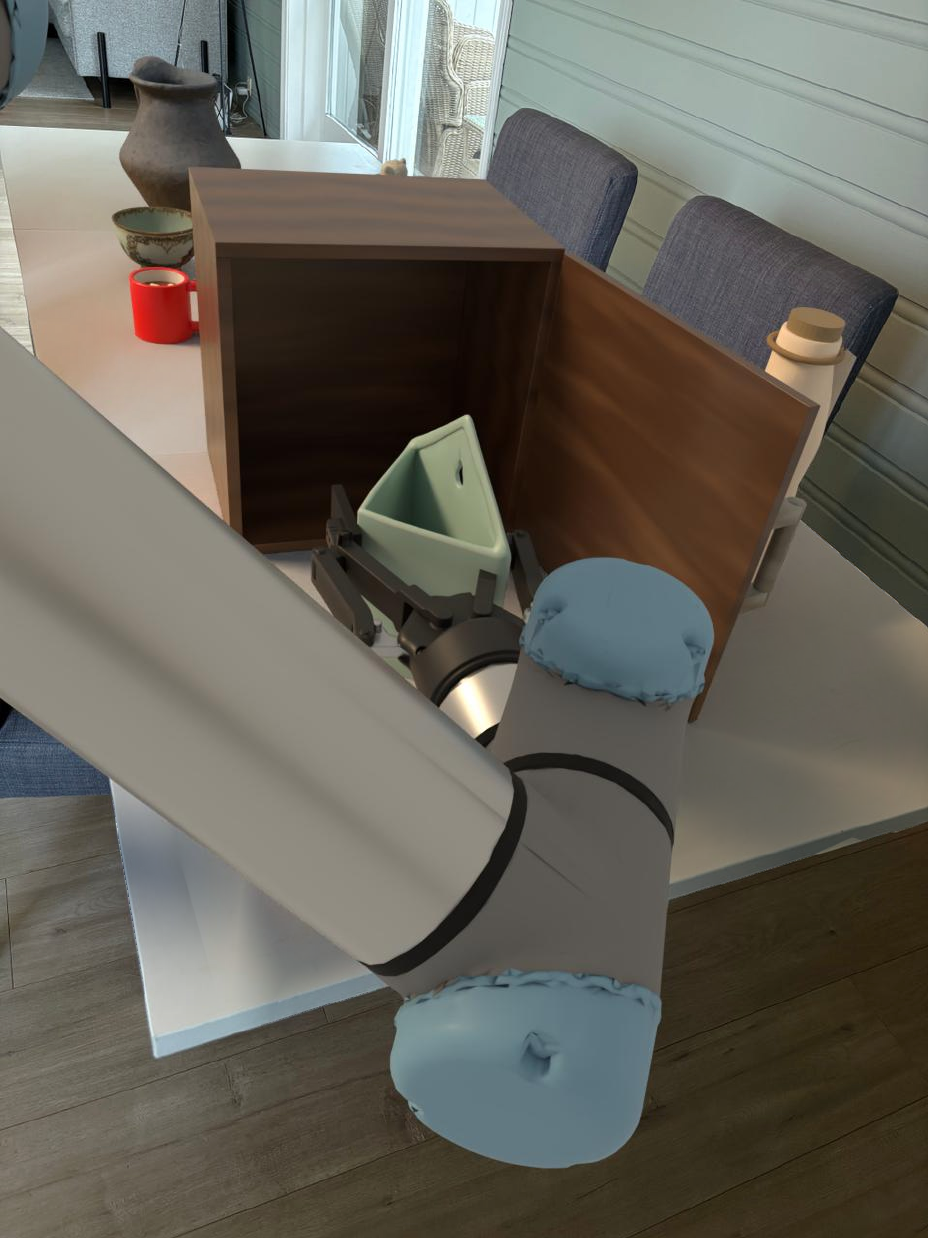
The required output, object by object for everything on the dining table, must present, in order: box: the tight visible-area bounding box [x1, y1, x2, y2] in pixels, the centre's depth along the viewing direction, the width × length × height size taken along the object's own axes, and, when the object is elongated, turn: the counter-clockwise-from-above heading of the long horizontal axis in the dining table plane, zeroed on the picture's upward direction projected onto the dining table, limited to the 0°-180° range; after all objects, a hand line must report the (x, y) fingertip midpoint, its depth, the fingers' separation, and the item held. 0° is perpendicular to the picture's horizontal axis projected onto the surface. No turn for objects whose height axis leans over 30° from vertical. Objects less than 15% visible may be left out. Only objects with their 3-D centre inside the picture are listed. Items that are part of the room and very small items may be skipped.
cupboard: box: [189, 167, 566, 555], centre depth 94 cm, size 22×30×30 cm
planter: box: [357, 415, 511, 682], centre depth 66 cm, size 16×8×20 cm, turn 25°
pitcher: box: [118, 55, 242, 213], centre depth 161 cm, size 21×22×25 cm
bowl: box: [111, 206, 195, 272], centre depth 146 cm, size 14×13×8 cm
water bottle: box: [751, 306, 858, 583], centre depth 91 cm, size 10×9×28 cm
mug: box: [128, 267, 200, 345], centre depth 128 cm, size 8×12×8 cm, turn 102°
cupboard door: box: [514, 252, 820, 723], centre depth 82 cm, size 7×30×30 cm, turn 28°
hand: (394, 496), depth 69 cm, fingers closed on planter, 8 cm apart
